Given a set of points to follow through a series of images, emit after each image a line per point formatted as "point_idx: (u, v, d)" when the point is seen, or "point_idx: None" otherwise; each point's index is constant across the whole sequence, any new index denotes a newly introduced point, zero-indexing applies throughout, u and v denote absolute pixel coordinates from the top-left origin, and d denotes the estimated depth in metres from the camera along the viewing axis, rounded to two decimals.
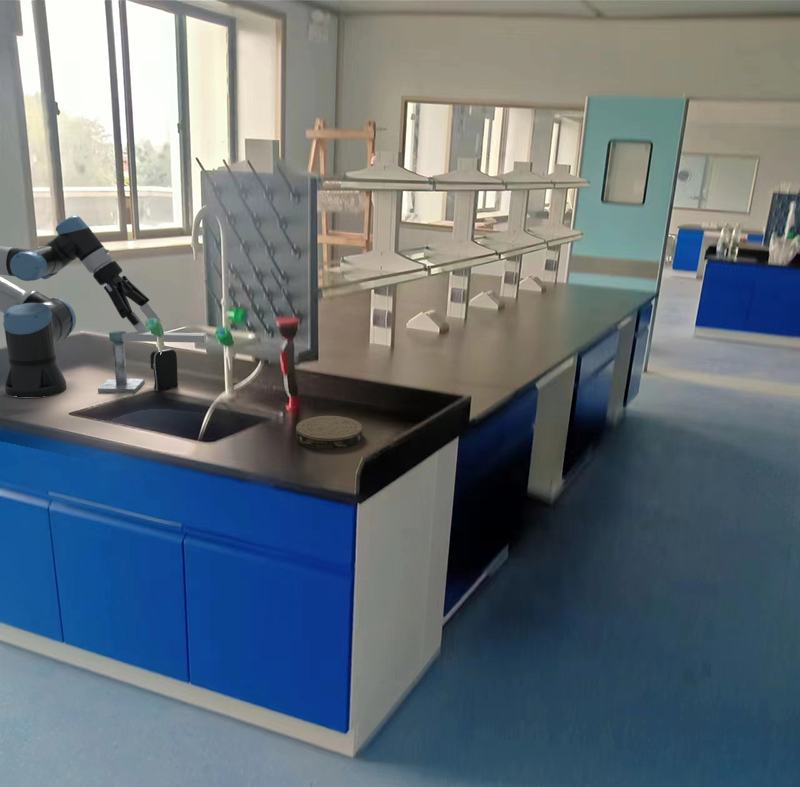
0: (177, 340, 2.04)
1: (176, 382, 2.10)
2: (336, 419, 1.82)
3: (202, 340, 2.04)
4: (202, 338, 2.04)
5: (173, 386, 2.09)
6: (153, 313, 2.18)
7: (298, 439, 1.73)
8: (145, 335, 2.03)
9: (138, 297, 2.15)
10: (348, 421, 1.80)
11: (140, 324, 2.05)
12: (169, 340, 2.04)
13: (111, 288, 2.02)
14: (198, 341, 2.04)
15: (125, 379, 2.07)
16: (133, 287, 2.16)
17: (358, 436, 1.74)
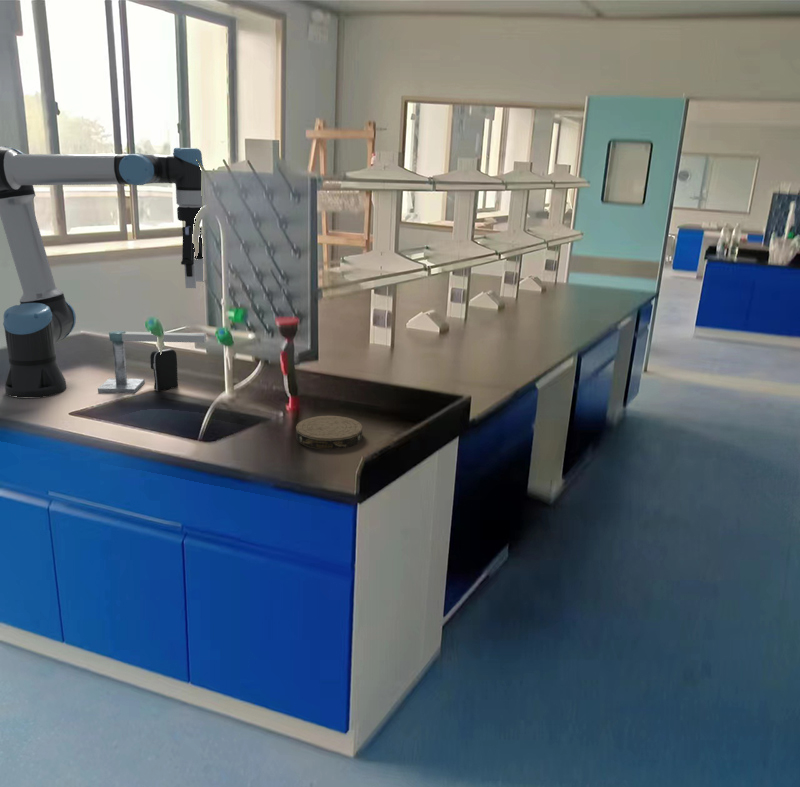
0: (177, 340, 2.04)
1: (176, 382, 2.10)
2: (336, 419, 1.82)
3: (202, 340, 2.04)
4: (202, 338, 2.04)
5: (173, 386, 2.09)
6: (201, 271, 2.15)
7: (298, 439, 1.73)
8: (145, 335, 2.03)
9: (199, 249, 2.12)
10: (348, 421, 1.80)
11: (192, 278, 2.04)
12: (169, 340, 2.04)
13: (188, 232, 2.00)
14: (198, 341, 2.04)
15: (125, 379, 2.07)
16: (200, 238, 2.13)
17: (358, 436, 1.74)
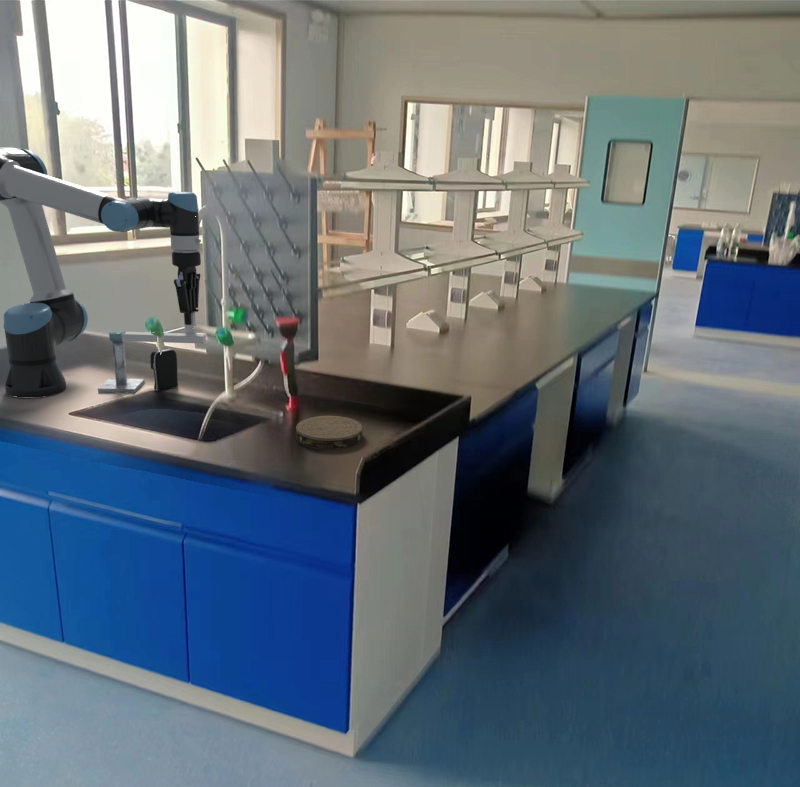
0: (176, 341, 2.03)
1: (176, 382, 2.10)
2: (336, 419, 1.82)
3: (201, 341, 2.03)
4: (201, 339, 2.03)
5: (173, 386, 2.09)
6: None
7: (298, 439, 1.73)
8: (144, 335, 2.02)
9: (192, 299, 2.04)
10: (348, 421, 1.80)
11: (191, 326, 2.05)
12: (168, 340, 2.03)
13: (181, 285, 1.97)
14: (197, 342, 2.03)
15: (125, 379, 2.07)
16: (196, 287, 2.06)
17: (358, 436, 1.74)
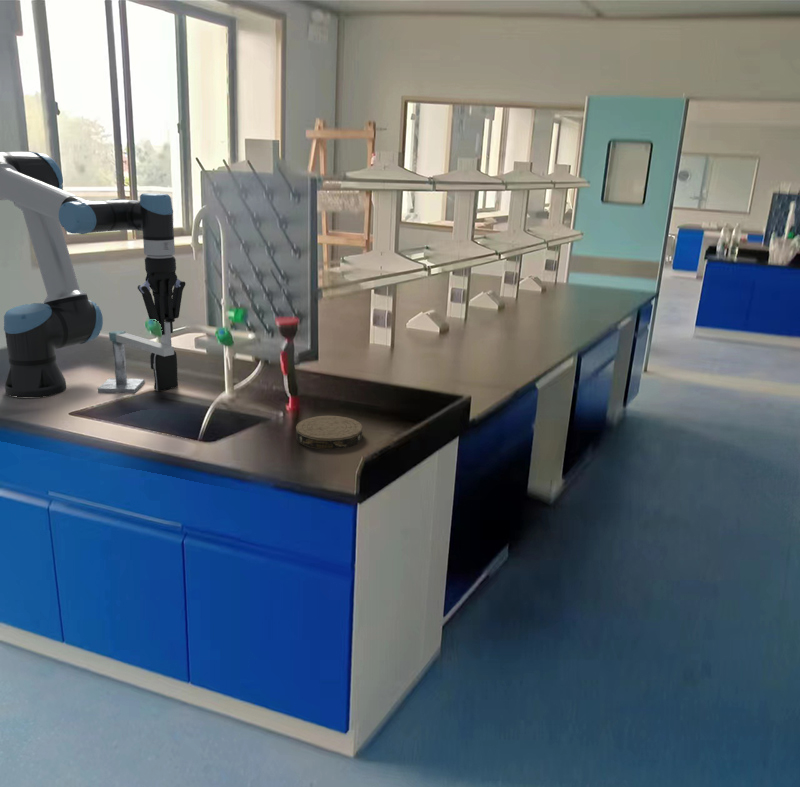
0: (147, 349, 1.93)
1: (176, 382, 2.10)
2: (335, 419, 1.82)
3: (163, 353, 1.89)
4: (162, 351, 1.89)
5: (173, 386, 2.09)
6: None
7: (298, 439, 1.73)
8: (128, 339, 1.98)
9: (167, 308, 1.91)
10: (348, 421, 1.80)
11: (164, 337, 1.92)
12: (143, 348, 1.94)
13: (143, 292, 1.85)
14: (160, 354, 1.90)
15: (125, 379, 2.07)
16: (177, 296, 1.92)
17: (358, 436, 1.74)
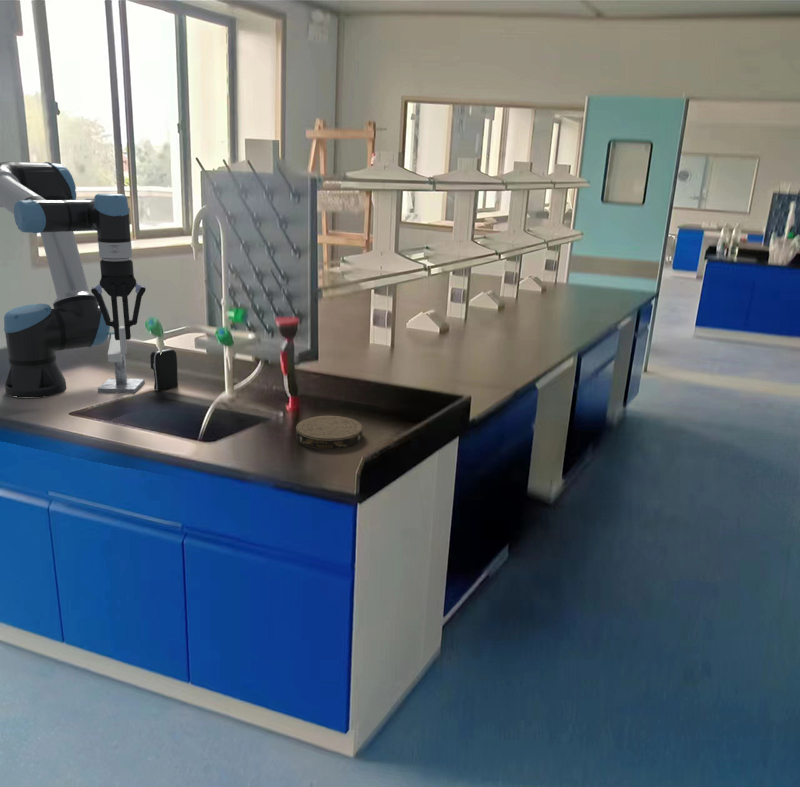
0: None
1: (176, 382, 2.10)
2: (335, 418, 1.82)
3: (108, 359, 1.82)
4: None
5: (173, 386, 2.09)
6: None
7: (298, 439, 1.73)
8: None
9: None
10: (348, 421, 1.80)
11: (120, 342, 1.85)
12: None
13: None
14: None
15: (125, 379, 2.07)
16: (135, 302, 1.83)
17: (358, 436, 1.74)
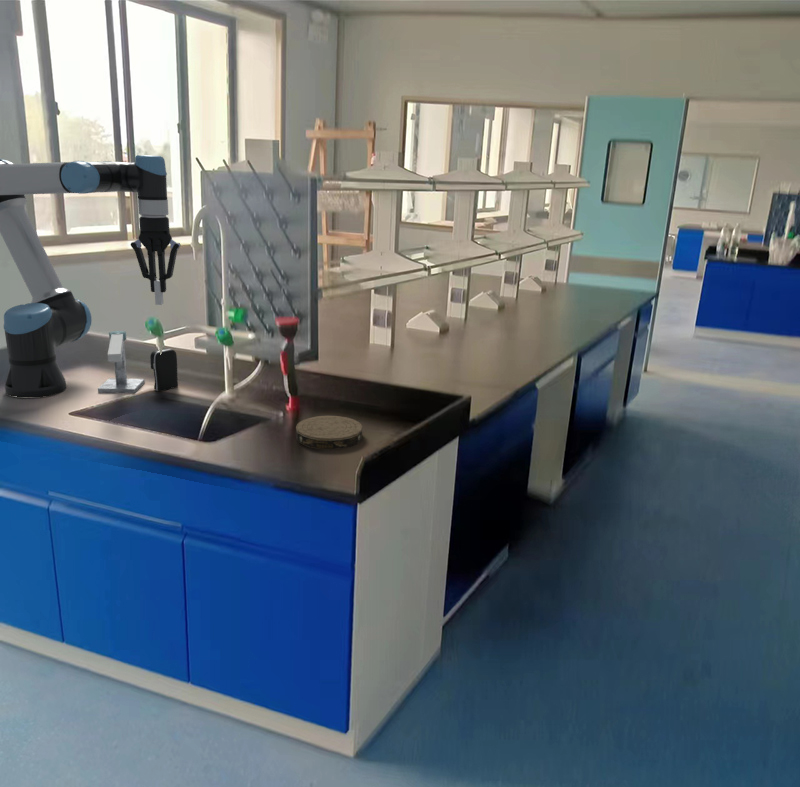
0: None
1: (176, 382, 2.10)
2: (335, 418, 1.82)
3: (108, 359, 1.82)
4: None
5: (173, 386, 2.09)
6: None
7: (298, 439, 1.73)
8: None
9: (155, 266, 1.99)
10: (348, 421, 1.80)
11: (162, 294, 2.02)
12: None
13: (177, 249, 1.98)
14: None
15: (125, 379, 2.07)
16: (143, 255, 1.99)
17: (358, 436, 1.74)
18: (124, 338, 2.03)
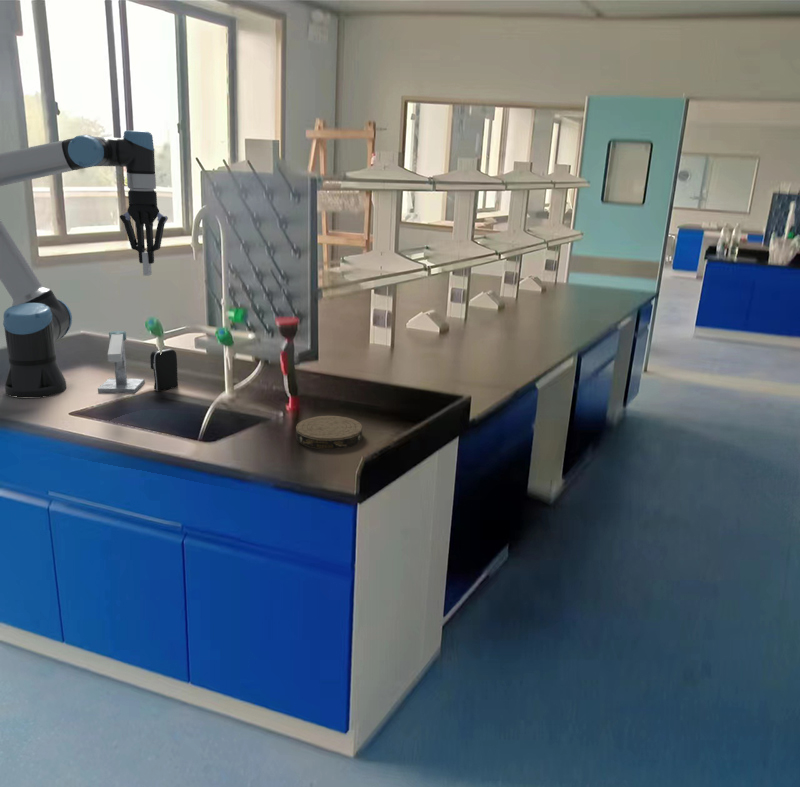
0: None
1: (176, 382, 2.10)
2: (335, 418, 1.82)
3: (108, 359, 1.82)
4: None
5: (173, 386, 2.09)
6: None
7: (298, 439, 1.73)
8: None
9: (143, 238, 2.08)
10: (348, 421, 1.80)
11: (150, 265, 2.10)
12: None
13: (164, 222, 2.06)
14: None
15: (125, 379, 2.07)
16: (132, 227, 2.07)
17: (358, 435, 1.74)
18: (124, 338, 2.03)
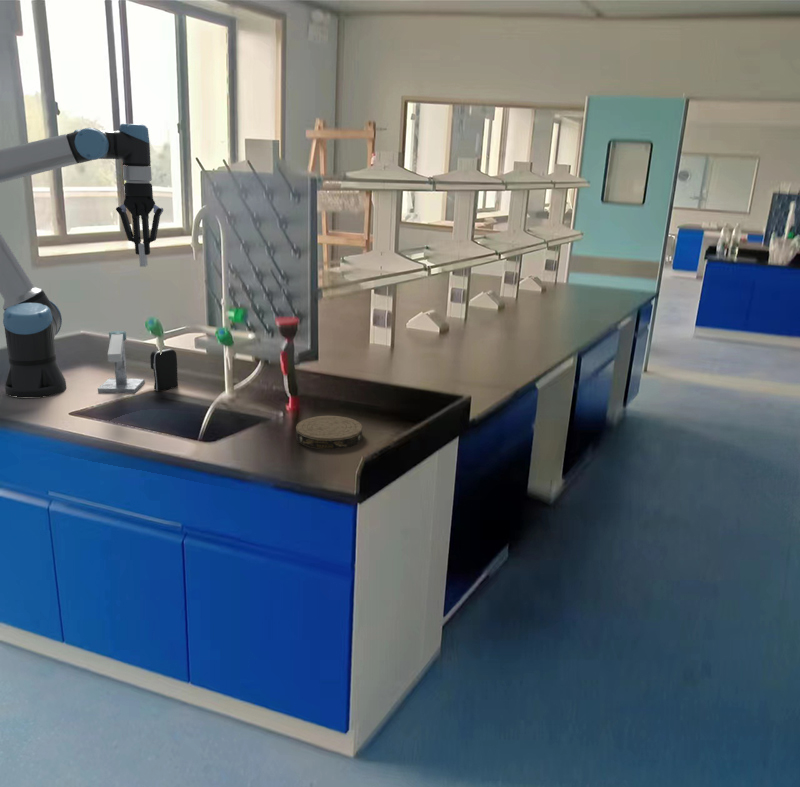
0: None
1: (176, 382, 2.10)
2: (335, 418, 1.82)
3: (108, 359, 1.82)
4: None
5: (173, 386, 2.09)
6: None
7: (298, 439, 1.73)
8: None
9: (139, 230, 2.12)
10: (348, 421, 1.80)
11: (146, 256, 2.14)
12: None
13: (160, 213, 2.10)
14: None
15: (125, 379, 2.07)
16: (128, 219, 2.11)
17: (358, 436, 1.74)
18: (124, 338, 2.03)
